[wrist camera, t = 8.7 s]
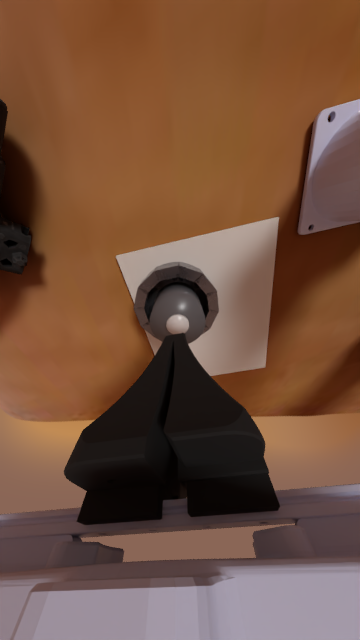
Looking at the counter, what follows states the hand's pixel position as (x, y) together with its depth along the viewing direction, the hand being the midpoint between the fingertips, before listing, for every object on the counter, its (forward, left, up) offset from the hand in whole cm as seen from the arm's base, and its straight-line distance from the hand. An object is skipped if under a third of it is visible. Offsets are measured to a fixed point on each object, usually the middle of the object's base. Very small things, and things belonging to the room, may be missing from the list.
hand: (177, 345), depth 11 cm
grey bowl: (0, 0, -8) cm, 8 cm away
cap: (0, 0, -8) cm, 8 cm away
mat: (-3, +4, -9) cm, 10 cm away
